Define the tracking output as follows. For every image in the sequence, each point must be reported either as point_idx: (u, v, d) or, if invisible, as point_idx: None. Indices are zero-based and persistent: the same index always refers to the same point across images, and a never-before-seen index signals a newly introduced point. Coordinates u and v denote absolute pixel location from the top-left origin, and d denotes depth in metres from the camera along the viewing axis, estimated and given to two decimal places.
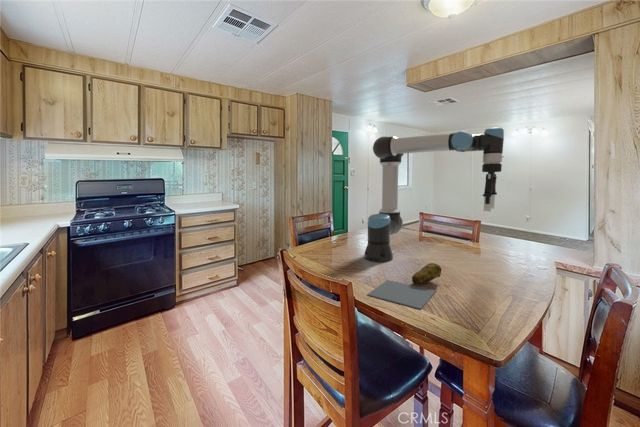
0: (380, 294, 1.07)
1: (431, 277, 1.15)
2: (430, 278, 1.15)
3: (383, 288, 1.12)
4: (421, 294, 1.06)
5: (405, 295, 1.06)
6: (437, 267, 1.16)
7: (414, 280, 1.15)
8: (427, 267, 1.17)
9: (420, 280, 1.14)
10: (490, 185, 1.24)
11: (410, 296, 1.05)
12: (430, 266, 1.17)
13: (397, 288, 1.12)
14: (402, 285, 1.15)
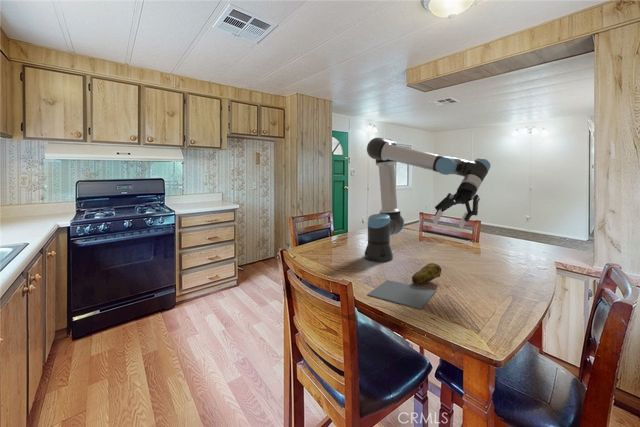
0: (380, 294, 1.07)
1: (431, 277, 1.15)
2: (430, 278, 1.15)
3: (383, 288, 1.12)
4: (421, 294, 1.06)
5: (405, 295, 1.06)
6: (437, 267, 1.16)
7: (414, 280, 1.15)
8: (427, 267, 1.17)
9: (420, 280, 1.14)
10: (477, 206, 1.20)
11: (410, 296, 1.05)
12: (430, 266, 1.17)
13: (397, 288, 1.12)
14: (402, 285, 1.15)
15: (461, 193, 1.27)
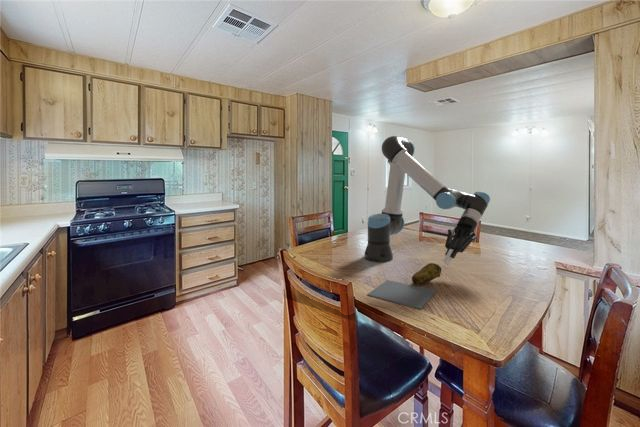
0: (380, 294, 1.07)
1: (431, 277, 1.15)
2: (430, 278, 1.15)
3: (383, 288, 1.12)
4: (421, 294, 1.06)
5: (405, 295, 1.06)
6: (437, 267, 1.16)
7: (414, 280, 1.15)
8: (427, 267, 1.17)
9: (420, 280, 1.14)
10: (468, 245, 1.23)
11: (410, 296, 1.05)
12: (430, 266, 1.17)
13: (397, 288, 1.12)
14: (402, 285, 1.15)
15: (460, 225, 1.30)
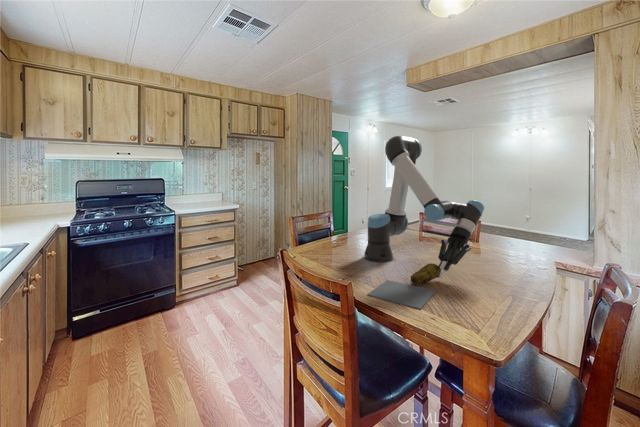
0: (380, 294, 1.07)
1: (430, 277, 1.15)
2: (429, 278, 1.15)
3: (383, 288, 1.12)
4: (421, 294, 1.06)
5: (405, 295, 1.06)
6: (436, 267, 1.16)
7: (412, 280, 1.15)
8: (426, 267, 1.16)
9: (418, 280, 1.14)
10: (461, 256, 1.20)
11: (410, 296, 1.05)
12: (429, 266, 1.16)
13: (397, 288, 1.12)
14: (402, 285, 1.15)
15: None
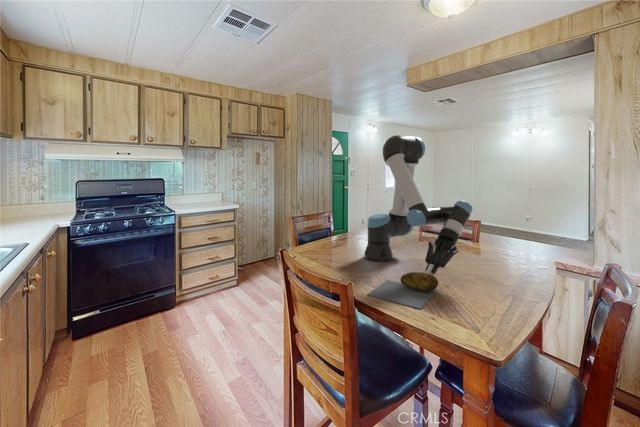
0: (380, 294, 1.07)
1: None
2: None
3: (383, 288, 1.12)
4: (421, 294, 1.06)
5: (405, 295, 1.06)
6: (429, 288, 1.06)
7: (401, 280, 1.13)
8: (419, 281, 1.08)
9: (405, 285, 1.12)
10: (449, 259, 1.15)
11: (410, 296, 1.05)
12: (423, 283, 1.07)
13: (397, 288, 1.12)
14: (402, 285, 1.15)
15: None
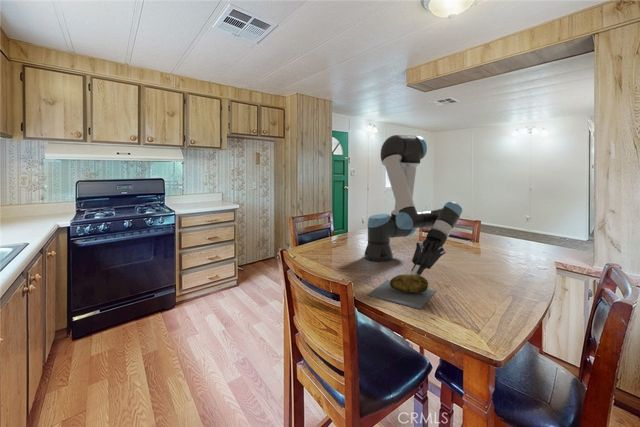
0: (380, 294, 1.07)
1: (408, 292, 1.07)
2: None
3: (383, 288, 1.12)
4: (421, 294, 1.06)
5: (405, 295, 1.06)
6: (420, 289, 1.04)
7: (390, 284, 1.09)
8: (411, 283, 1.05)
9: (395, 288, 1.08)
10: (435, 260, 1.13)
11: (410, 296, 1.05)
12: (414, 285, 1.04)
13: None
14: None
15: (430, 238, 1.20)
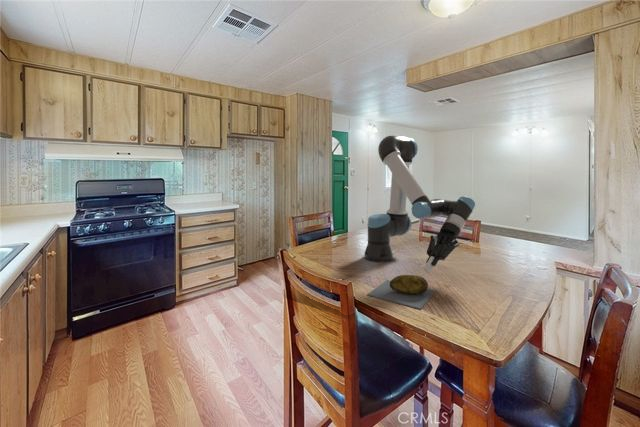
0: (380, 294, 1.07)
1: None
2: None
3: (383, 288, 1.12)
4: (421, 294, 1.06)
5: (405, 295, 1.06)
6: (420, 291, 1.04)
7: (390, 285, 1.09)
8: (411, 285, 1.05)
9: None
10: (449, 252, 1.18)
11: (410, 296, 1.05)
12: (414, 286, 1.04)
13: None
14: None
15: (443, 231, 1.25)
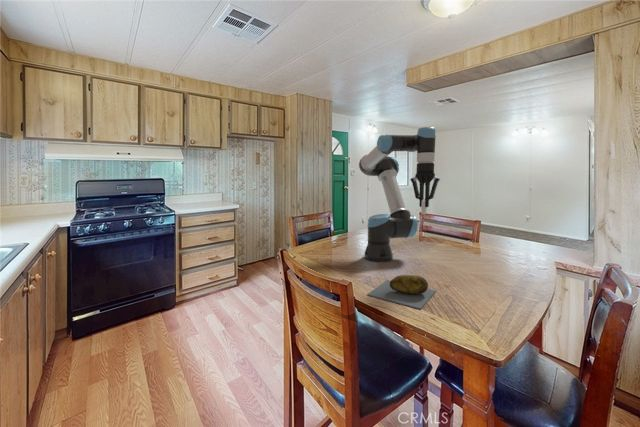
0: (380, 294, 1.07)
1: None
2: None
3: (383, 288, 1.12)
4: (421, 294, 1.06)
5: (405, 295, 1.06)
6: (420, 291, 1.04)
7: (390, 285, 1.09)
8: (411, 285, 1.05)
9: None
10: (435, 189, 1.29)
11: (410, 296, 1.05)
12: (414, 286, 1.04)
13: None
14: None
15: (420, 171, 1.30)
